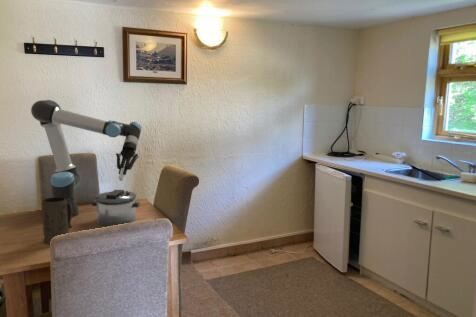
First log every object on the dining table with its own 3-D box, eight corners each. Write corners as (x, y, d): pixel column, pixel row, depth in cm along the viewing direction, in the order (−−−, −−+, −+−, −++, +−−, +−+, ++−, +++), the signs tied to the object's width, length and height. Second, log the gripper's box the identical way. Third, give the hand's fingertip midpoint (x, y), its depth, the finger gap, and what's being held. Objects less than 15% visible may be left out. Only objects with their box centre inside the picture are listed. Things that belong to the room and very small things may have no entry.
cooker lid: (88, 203, 199) (87, 196, 198) (104, 193, 219) (104, 187, 219) (128, 204, 197) (128, 197, 197) (141, 194, 218) (141, 188, 217)
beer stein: (58, 245, 173) (58, 201, 171) (37, 243, 175) (36, 200, 173) (79, 236, 188) (78, 195, 186) (59, 234, 190) (59, 194, 188)
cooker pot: (85, 225, 201) (84, 202, 199) (102, 213, 222) (102, 192, 220) (133, 226, 200) (132, 204, 198) (145, 214, 221) (145, 194, 219)
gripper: (142, 149, 228) (133, 183, 215) (121, 148, 229) (111, 182, 216) (139, 141, 222) (130, 176, 208) (117, 140, 223) (106, 175, 209)
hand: (120, 179), depth 212 cm, fingers closed
